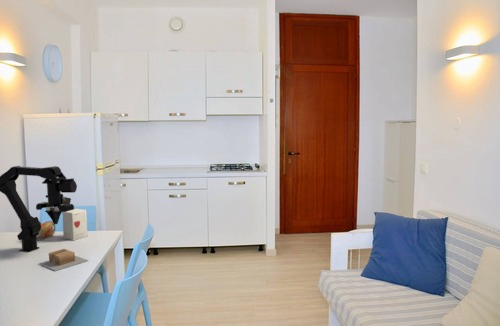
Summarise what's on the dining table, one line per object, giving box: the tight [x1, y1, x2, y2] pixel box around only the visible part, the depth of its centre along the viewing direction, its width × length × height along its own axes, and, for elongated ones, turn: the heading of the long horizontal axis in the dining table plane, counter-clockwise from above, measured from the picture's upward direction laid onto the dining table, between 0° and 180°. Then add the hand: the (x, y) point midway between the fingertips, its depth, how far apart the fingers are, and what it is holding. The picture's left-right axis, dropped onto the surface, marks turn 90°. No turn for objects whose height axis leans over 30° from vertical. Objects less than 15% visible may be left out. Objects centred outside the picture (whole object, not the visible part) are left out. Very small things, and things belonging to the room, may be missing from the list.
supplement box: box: [61, 208, 88, 241], centre depth 216 cm, size 9×9×15 cm
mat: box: [40, 255, 89, 272], centre depth 176 cm, size 12×15×1 cm
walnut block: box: [48, 248, 76, 266], centre depth 177 cm, size 4×7×9 cm
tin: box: [35, 220, 56, 241], centre depth 216 cm, size 15×3×8 cm, turn 168°
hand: (56, 224), depth 194 cm, fingers closed
